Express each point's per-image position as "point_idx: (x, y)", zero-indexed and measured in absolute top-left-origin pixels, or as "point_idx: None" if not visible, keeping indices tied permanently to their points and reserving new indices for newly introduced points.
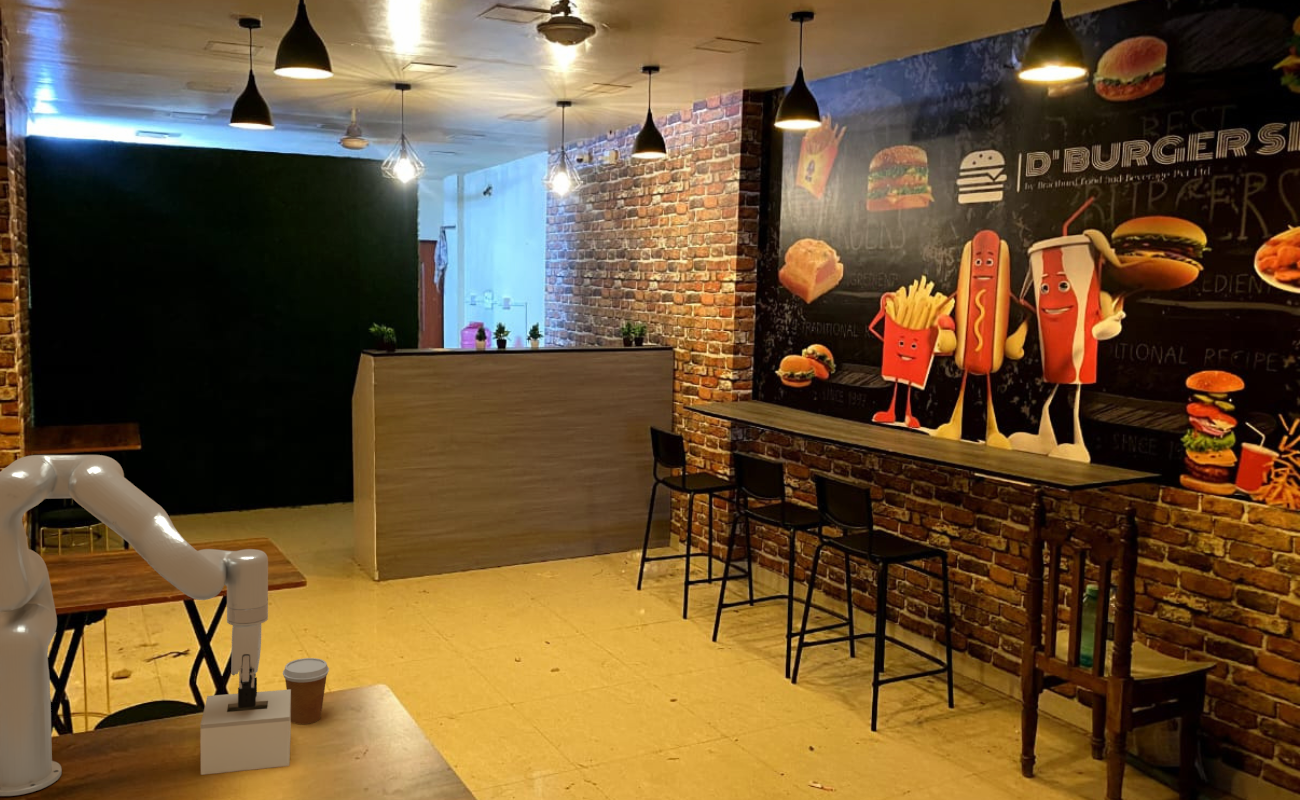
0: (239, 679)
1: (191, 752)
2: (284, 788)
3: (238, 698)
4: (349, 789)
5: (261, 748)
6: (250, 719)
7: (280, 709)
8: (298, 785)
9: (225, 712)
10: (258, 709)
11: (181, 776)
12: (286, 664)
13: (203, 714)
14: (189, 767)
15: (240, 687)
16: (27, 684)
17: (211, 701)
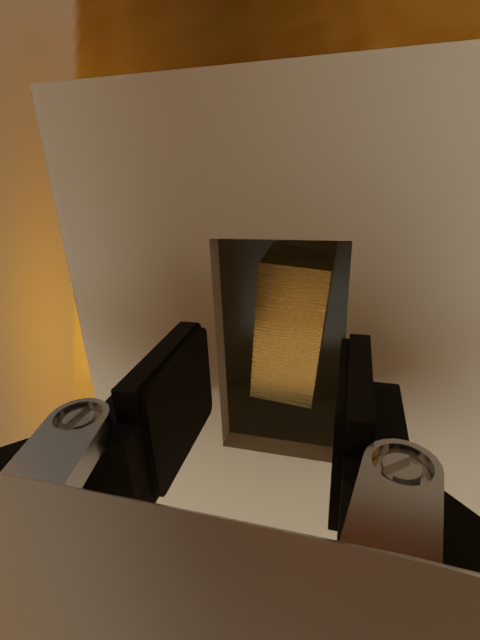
0: (6, 468)
1: (401, 22)
2: (78, 362)
3: (156, 348)
4: None
5: None
6: (98, 364)
7: (202, 493)
8: (91, 393)
9: (201, 232)
10: (220, 407)
11: (171, 29)
12: None
13: (188, 72)
14: (244, 48)
15: (57, 420)
16: None
17: (452, 96)
